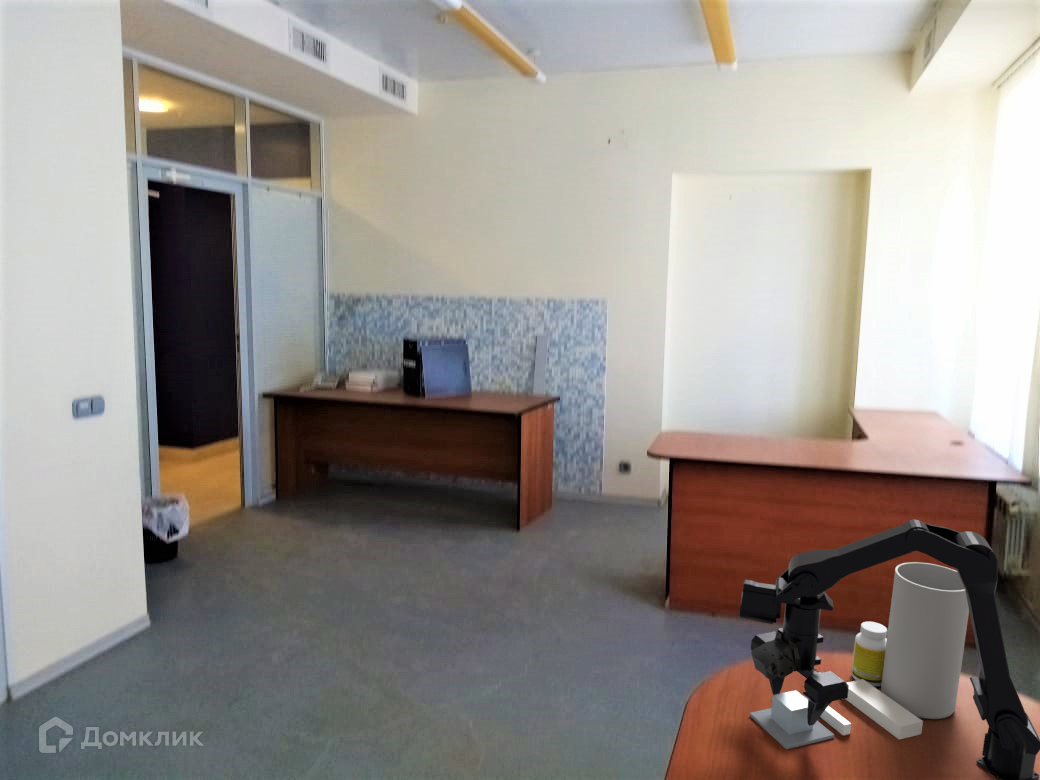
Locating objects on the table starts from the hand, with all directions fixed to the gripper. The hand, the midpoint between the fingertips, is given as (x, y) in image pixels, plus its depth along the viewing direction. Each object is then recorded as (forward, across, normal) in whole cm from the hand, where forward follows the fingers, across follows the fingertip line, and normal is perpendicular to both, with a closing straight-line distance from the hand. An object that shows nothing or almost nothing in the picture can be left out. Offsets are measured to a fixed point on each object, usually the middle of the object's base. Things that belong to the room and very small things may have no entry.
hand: (792, 709), depth 138 cm
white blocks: (+3, +2, +14) cm, 14 cm away
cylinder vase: (+4, +1, +28) cm, 28 cm away
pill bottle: (+4, -8, +25) cm, 26 cm away
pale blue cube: (+3, 0, 0) cm, 3 cm away
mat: (+3, 0, 0) cm, 3 cm away
